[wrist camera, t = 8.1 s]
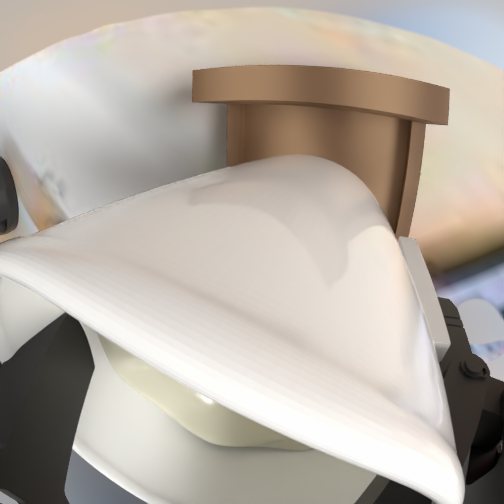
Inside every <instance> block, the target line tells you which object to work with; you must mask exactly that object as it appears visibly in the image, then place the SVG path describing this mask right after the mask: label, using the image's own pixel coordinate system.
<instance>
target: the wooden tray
mask: <svg viewBox="0 0 504 504" xmlns="http://www.w3.org/2000/svg"><path fill="white" fill-rule="evenodd" d="M449 92H450V89H449V88H445V87H442V86H438V85H434V84H430V83H426V82H422V81H418V80H413V79H408V78H404V77H399V76H393V75H388V74H382V73H375V72H369V71H361V70H353V69H344V68H334V67H321V66H301V65H252V66H233V67H220V68H209V69H200V70H193V88H192V102H200V103H220V104H227V167H229V166H233V165H236V164H240V163H245V162H249V161H253V160H257V159H262V158H266V157H271V156H277V155H284V154H307V155H314V156H318V157H322V158H325V159H328V160H331V161H333V162H336V163H338V164H340V165H341V166H343V167H345V168H347V169H348V170H350V171H351V172H352V173H354V174H355V175H356V176H357V177H359V178H360V179H361V180H362V181H363V182H364V183H365V184H366V185H367V186H368V188H369V189H370V190H371V191H372V193H373V194H374V196H375V197H376V199H377V200H378V202H379V203H380V205H381V207H382V209H383V211H384V213H385V215H386V217H387V219H388V221H389V223H390V225H391V227H392V230H393V232H394V234H395V236H396V239H397V241H398V240H399V236H402V237H407V238H408V235H409V231H410V226H411V222H412V217H413V212H414V207H415V202H416V196H417V190H418V184H419V178H420V171H421V164H422V156H423V148H424V138H425V127H426V124H437V125H448V115H449Z"/></svg>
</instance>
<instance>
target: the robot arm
mask: <svg viewBox="0 0 504 504" xmlns="http://www.w3.org/2000/svg"><path fill="white" fill-rule="evenodd" d="M17 223H18V203H17V196H16V191H15V187H14V183H13V179H12V176H11V173H10V171H9V168H8V166H7V164H6V163H5V161H4V160H3V159H2V158H1V157H0V235H4V234H7V233H9V232H11V231H13V230H14V229H15V228H16V226H17ZM398 243H399V245H400V248H401V250H402V253H403V255H404V257H405V260H406V262H407V265H408V267H409V270H410V273H411V275H412V278H413V281H414V283H415V286H416V289H417V291H418V294H419V297H420V300H421V303H422V306H423V309H424V312H425V315H426V318H427V321H428V324H429V328H430V331H431V334H432V338H433V341H434V345H435V348H436V352H437V356H438V360H439V363H440V367H441V372H442V376H443V380H444V385H445V389H446V394H447V399H448V404H449V409H450V414H451V420H452V426H453V431H454V437H455V443H456V449H457V454H458V458H459V461H460V463H461V466H462V469H463V473H464V479H465V497H464V502H463V504H504V382H503V381H500V380H498V379H495V378H492V377H491V376H490V371H489V368H488V366H487V364H486V363H485V362H484V361H483V360H482V359H481V358H480V357H478V356H477V355H475V354H472V351H471V348H470V345H469V341H468V338H467V335H466V332H465V329H464V328H463V324H462V321H461V320H460V316H459V312H458V310H457V308H456V307H455V305H454V304H453V303H452V302H451V301H450V300H449V299H446V298H440V297H437V295H436V292H435V289H434V286H433V283H432V280H431V278H430V275H429V272H428V269H427V267H426V264H425V261H424V259H423V256H422V254H421V251H420V249H419V246H418V244H417V242H416V239H413V238H407V237H402V236H399V240H398ZM94 369H95V365H94V360H93V356H92V352H91V348H90V345H89V342H88V339H87V336H86V334H85V331H84V329H83V327H82V325H81V324H80V322H79V321H78V320H77V319H75V318H74V317H72V316H71V315H69V314H68V313H66V312H65V313H63V314H62V315H61V316H59V317H58V318H57V319H55V320H54V321H53V322H51V323H50V324H49V325H47V326H46V327H45V328H43V329H42V330H41V331H40V332H38V333H37V334H36V335H34V336H33V337H32V338H31V339H29V340H28V341H27V342H26V343H25V344H23V345H22V346H21V347H20V348H19V349H18V350H17V351H16V352H15V354H14V355H13V356H12V357H11V358H10V359H9V360H7V361H5V362H3V364H2V363H1V362H0V491H2V492H3V493H4V494H6V495H8V496H9V497H11V498H13V499H14V500H16V501H17V502H18V503H19V504H69V502H68V500H67V498H66V496H65V492H64V487H65V481H66V475H67V470H68V465H69V460H70V455H71V451H72V447H73V443H74V438H75V434H76V430H77V426H78V423H79V419H80V415H81V412H82V408H83V405H84V401H85V398H86V394H87V391H88V388H89V384H90V381H91V378H92V375H93V372H94ZM501 447H502V449H501ZM431 503H432V500H431V499H429V498H428V497H426V496H424V495H422V494H421V493H419V492H417V491H415V490H413V489H410V488H408V487H406V486H404V485H402V484H399V483H397V482H395V481H392V480H390V479H388V478H385V477H383V476H380V475H378V474H377V475H376V476H375V478H374V479H373V480H372V482H371V483H370V484H369V486H368V487H367V488H366V490H365V491H364V492H363V493H362V495H361V496H360V497H359V498H358V499H357V501H356V502H355V503H354V504H431ZM0 504H1V503H0Z"/></svg>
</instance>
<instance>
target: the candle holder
mask: <svg viewBox="0 0 504 504" xmlns="http://www.w3.org/2000/svg"><path fill="white" fill-rule="evenodd" d="M65 312H66V313H68V314H69V315H71V316H72V317H74V318H75V319H77V320H78V321H79V322H80V324H81V325H82V327H83V329H84V331H85V334H86V336H87V339H88V342H89V345H90V348H91V352H92V356H93V360H94V365H95V369H94V372H93V375H92V378H91V381H90V384H89V388H88V391H87V394H86V398H85V401H84V405H83V408H82V412H81V415H80V419H79V423H78V426H77V430H76V434H75V438H74V443H73V447H72V449H73V450H74V451H75V452H76V453H78V454H79V455H80V456H81V457H82V458H83V459H85V460H86V461H87V462H88V463H89V464H91V465H92V466H93V467H95V468H96V469H97V470H98V471H100V472H101V473H102V474H104V475H105V476H107V477H108V478H109V479H111V480H112V481H113V482H115V483H116V484H118V485H119V486H121V487H122V488H124V489H125V490H127V491H128V492H130V493H132V494H133V495H135V496H137V497H138V498H140V499H142V500H143V501H145V502H147V503H149V504H354V503H355V502H356V501H357V499H358V498H359V497H360V496H361V495H362V493H363V492H364V491H365V490H366V488H367V487H368V486H369V484H370V483H371V482H372V480H373V479H374V478H375V476H376V475H377V474H378V475H380V476H383V477H385V478H388V479H390V480H392V481H395V482H397V483H399V484H402V485H404V486H406V487H408V488H410V489H413V490H415V491H417V492H419V493H421V494H422V495H424V496H426V497H428V498H429V499H431V500H432V503H431V504H463V502H464V497H465V479H464V473H463V469H462V466H461V463H460V461H459V458H458V454H457V449H456V443H455V437H454V431H453V426H452V420H451V414H450V409H449V404H448V399H447V394H446V389H445V385H444V380H443V376H442V372H441V367H440V363H439V360H438V356H437V352H436V348H435V345H434V341H433V338H432V334H431V331H430V328H429V324H428V321H427V318H426V315H425V312H424V309H423V306H422V303H421V300H420V297H419V294H418V291H417V289H416V286H415V283H414V281H413V278H412V275H411V273H410V270H409V267H408V265H407V262H406V260H405V257H404V255H403V253H402V250H401V248H400V245H399V243H398V241H397V239H396V236H395V234H394V232H393V230H392V227H391V225H390V223H389V221H388V219H387V217H386V215H385V213H384V211H383V209H382V207H381V205H380V203H379V202H378V200H377V199H376V197H375V196H374V194H373V193H372V191H371V190H370V189H369V188H368V186H367V185H366V184H365V183H364V182H363V181H362V180H361V179H360V178H359V177H357V176H356V175H355V174H354V173H352V172H351V171H350V170H348V169H347V168H345V167H343V166H341V165H340V164H338V163H336V162H333V161H331V160H328V159H325V158H322V157H318V156H314V155H307V154H284V155H277V156H271V157H266V158H262V159H257V160H253V161H249V162H245V163H240V164H236V165H233V166H229V167H225V168H221V169H217V170H214V171H210V172H207V173H203V174H199V175H196V176H192V177H189V178H186V179H182V180H179V181H176V182H172V183H169V184H166V185H163V186H160V187H157V188H154V189H151V190H147V191H144V192H141V193H139V194H136V195H133V196H130V197H127V198H124V199H121V200H118V201H116V202H113V203H110V204H107V205H105V206H102V207H99V208H97V209H94V210H92V211H89V212H86V213H84V214H81V215H79V216H76V217H74V218H71V219H69V220H66V221H64V222H61V223H59V224H56V225H54V226H51V227H49V228H46V229H44V230H41V231H39V232H36V233H33V234H31V235H27V236H22V237H17V238H13V239H10V240H7V241H4V242H2V243H0V362H1V363H2V364H3V362H5V361H7V360H9V359H10V358H11V357H12V356H13V355H14V354H15V352H16V351H17V350H18V349H19V348H20V347H21V346H22V345H23V344H25V343H26V342H27V341H28V340H29V339H31V338H32V337H33V336H34V335H36V334H37V333H38V332H40V331H41V330H42V329H43V328H45V327H46V326H47V325H49V324H50V323H51V322H53V321H54V320H55V319H57V318H58V317H59V316H61V315H62V314H63V313H65Z"/></svg>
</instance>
